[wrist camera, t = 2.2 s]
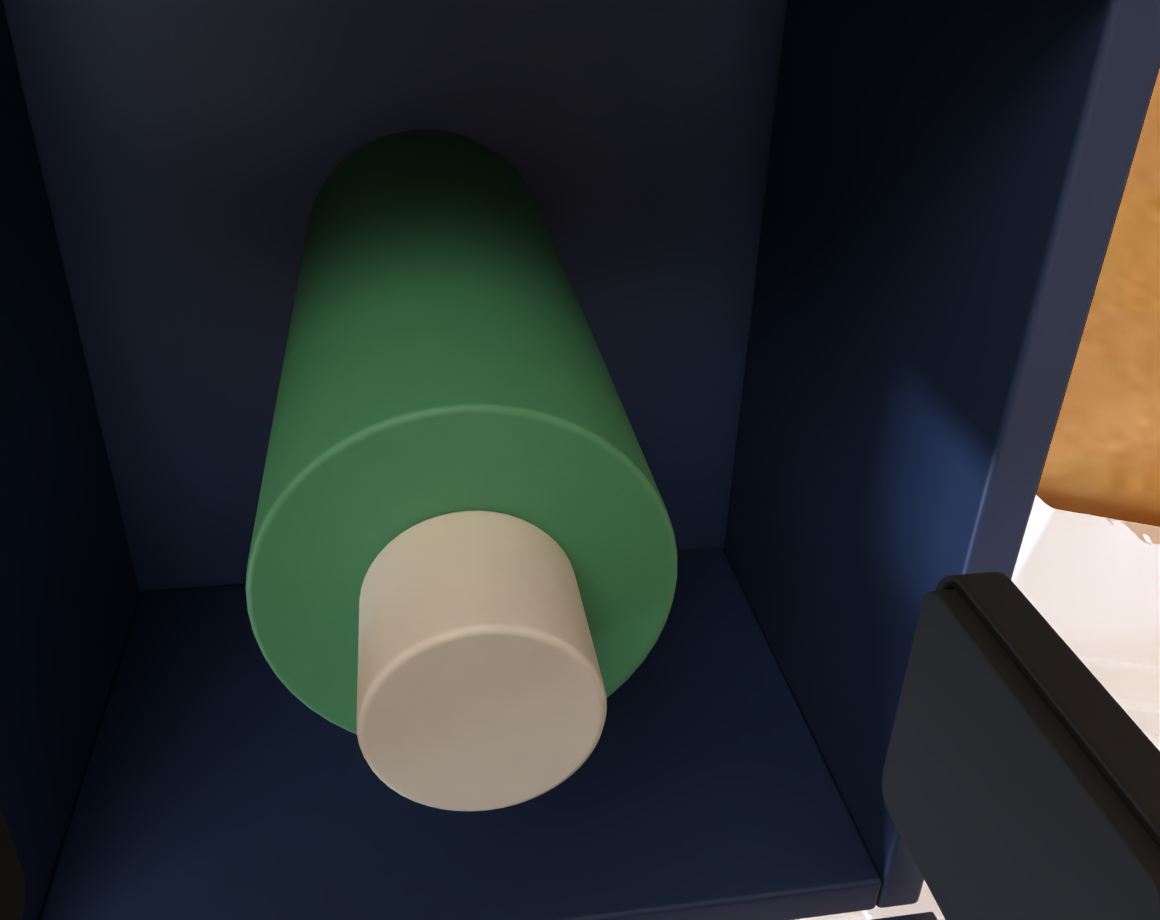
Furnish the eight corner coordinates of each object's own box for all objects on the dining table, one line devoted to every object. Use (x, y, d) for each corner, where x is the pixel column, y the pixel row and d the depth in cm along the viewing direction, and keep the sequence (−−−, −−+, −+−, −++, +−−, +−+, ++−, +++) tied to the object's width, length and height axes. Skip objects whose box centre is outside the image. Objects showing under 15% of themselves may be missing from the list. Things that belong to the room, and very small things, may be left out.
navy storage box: (-67, -148, 18) (-552, -120, 8) (826, -125, 20) (1208, -85, 11) (117, 599, 26) (-29, 1031, 16) (741, 551, 28) (919, 905, 19)
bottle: (293, 130, 20) (180, 537, 8) (546, 127, 21) (754, 498, 9) (319, 362, 22) (256, 919, 11) (544, 351, 23) (707, 864, 12)
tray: (1245, 981, 44) (1310, 1071, 40) (598, 938, 37) (615, 1042, 34) (1593, 584, 34) (1714, 660, 31) (813, 431, 28) (864, 507, 24)
